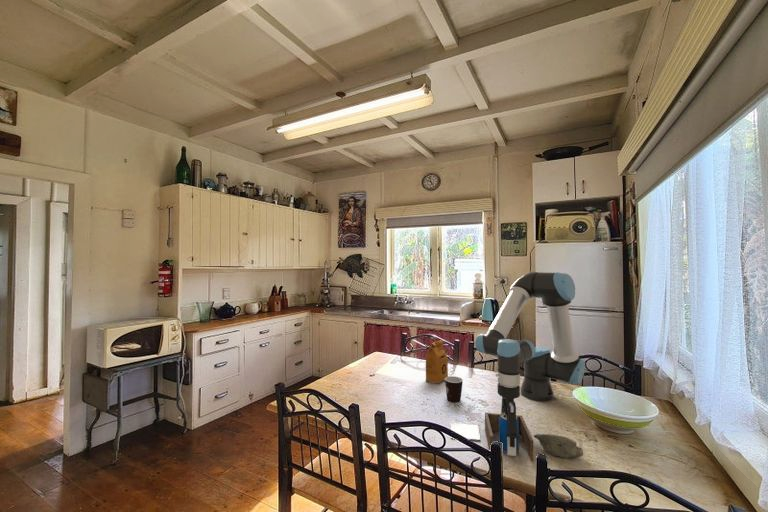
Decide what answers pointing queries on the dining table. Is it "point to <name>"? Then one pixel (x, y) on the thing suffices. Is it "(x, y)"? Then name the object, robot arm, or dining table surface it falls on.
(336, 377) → the dining table surface
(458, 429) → the white flat square slab
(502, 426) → the beverage can
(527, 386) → the robot arm
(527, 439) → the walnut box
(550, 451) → the fossil
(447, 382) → the coffee mug
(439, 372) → the coffee package
